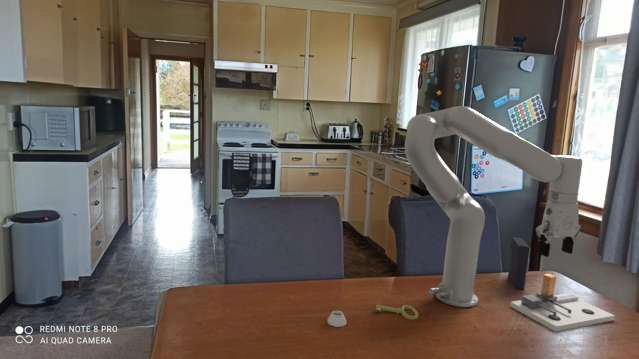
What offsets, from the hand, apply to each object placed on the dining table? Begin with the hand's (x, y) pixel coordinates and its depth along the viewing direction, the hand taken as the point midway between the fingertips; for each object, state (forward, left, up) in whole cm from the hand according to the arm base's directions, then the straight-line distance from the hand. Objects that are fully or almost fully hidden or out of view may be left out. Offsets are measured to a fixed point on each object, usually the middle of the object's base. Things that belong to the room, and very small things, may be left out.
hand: (555, 253), depth 135 cm
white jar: (-67, +9, -18) cm, 70 cm away
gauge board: (+2, -4, -17) cm, 18 cm away
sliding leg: (0, -3, -15) cm, 15 cm away
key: (-47, +10, -18) cm, 51 cm away
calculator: (+7, +18, -18) cm, 26 cm away
